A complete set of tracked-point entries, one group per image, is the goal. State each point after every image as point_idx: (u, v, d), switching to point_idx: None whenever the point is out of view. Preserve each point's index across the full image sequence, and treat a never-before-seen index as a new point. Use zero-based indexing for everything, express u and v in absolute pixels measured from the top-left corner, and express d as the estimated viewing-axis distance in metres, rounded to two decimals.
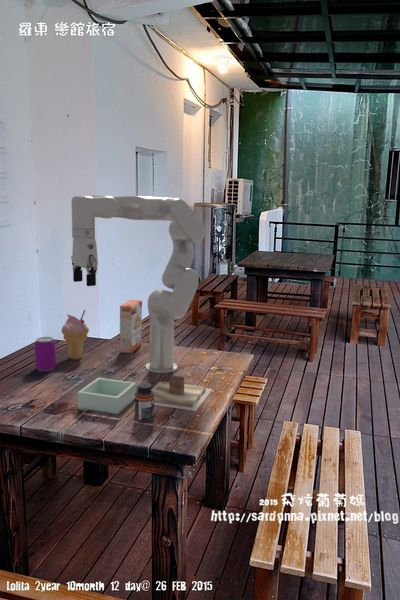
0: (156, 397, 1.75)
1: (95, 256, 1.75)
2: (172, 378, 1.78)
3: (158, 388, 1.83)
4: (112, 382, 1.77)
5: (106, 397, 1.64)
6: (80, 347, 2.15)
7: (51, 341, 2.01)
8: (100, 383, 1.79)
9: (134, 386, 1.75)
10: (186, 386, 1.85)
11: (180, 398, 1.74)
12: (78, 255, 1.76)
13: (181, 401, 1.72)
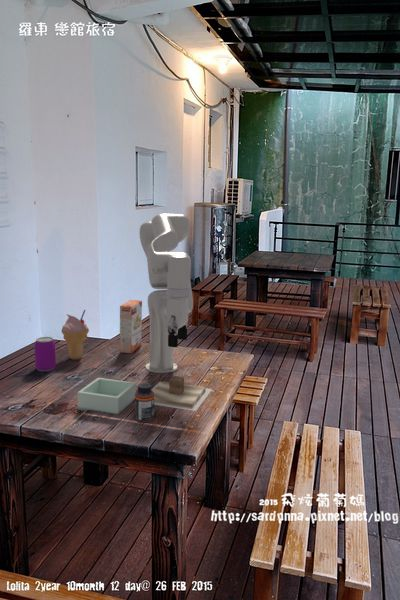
0: (156, 397, 1.75)
1: None
2: (172, 378, 1.78)
3: (158, 388, 1.83)
4: (112, 382, 1.77)
5: (106, 397, 1.64)
6: (80, 347, 2.15)
7: (51, 341, 2.01)
8: (100, 383, 1.79)
9: (134, 386, 1.75)
10: (186, 386, 1.85)
11: (180, 398, 1.74)
12: (185, 314, 1.74)
13: (181, 401, 1.72)
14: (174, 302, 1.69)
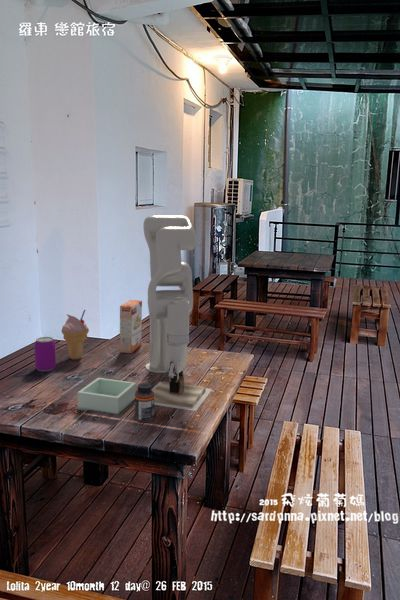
0: (156, 397, 1.75)
1: None
2: None
3: (158, 388, 1.83)
4: (112, 382, 1.77)
5: (106, 397, 1.64)
6: (80, 347, 2.15)
7: (51, 341, 2.01)
8: (100, 383, 1.79)
9: (134, 386, 1.75)
10: (186, 386, 1.85)
11: (180, 398, 1.74)
12: (184, 359, 1.77)
13: (181, 401, 1.72)
14: (173, 348, 1.72)
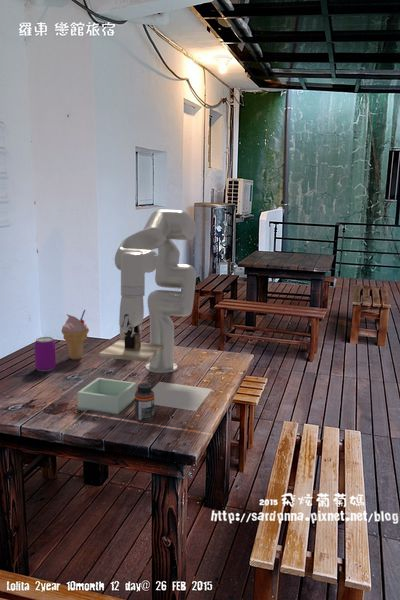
0: (110, 353, 1.65)
1: None
2: None
3: (113, 345, 1.73)
4: (112, 382, 1.77)
5: (106, 397, 1.64)
6: (80, 347, 2.15)
7: (51, 341, 2.01)
8: (100, 383, 1.79)
9: (134, 386, 1.75)
10: (143, 344, 1.76)
11: (135, 353, 1.66)
12: (140, 313, 1.69)
13: (136, 356, 1.63)
14: (127, 300, 1.63)
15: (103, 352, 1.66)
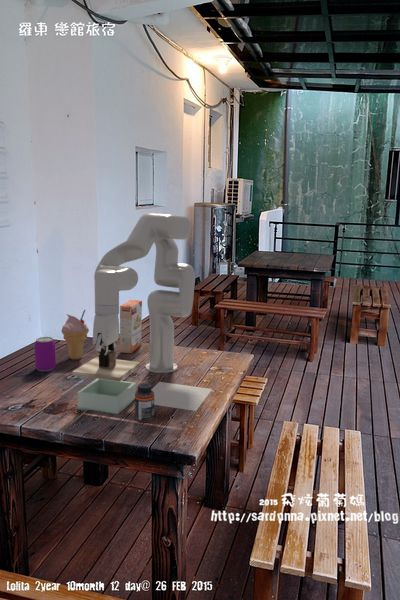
0: (83, 371, 1.64)
1: None
2: None
3: (89, 363, 1.72)
4: (112, 382, 1.77)
5: (106, 397, 1.64)
6: (80, 347, 2.15)
7: (51, 341, 2.01)
8: (100, 383, 1.79)
9: (134, 386, 1.75)
10: (119, 361, 1.75)
11: (109, 372, 1.64)
12: (115, 331, 1.67)
13: (109, 375, 1.62)
14: (100, 319, 1.62)
15: (76, 370, 1.65)
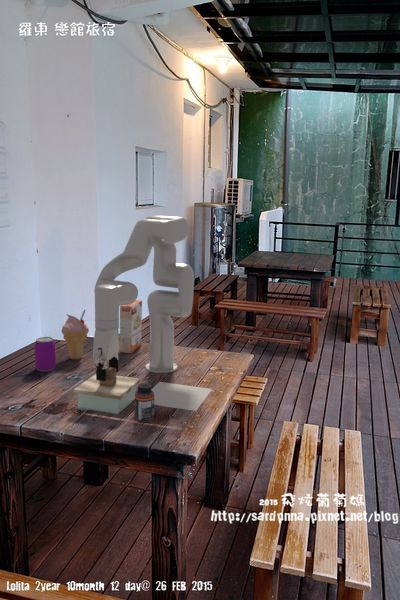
0: (84, 389, 1.66)
1: None
2: None
3: (89, 380, 1.74)
4: None
5: None
6: (80, 347, 2.15)
7: (51, 341, 2.01)
8: None
9: None
10: (120, 378, 1.76)
11: (109, 390, 1.65)
12: (115, 345, 1.68)
13: (109, 393, 1.63)
14: (101, 334, 1.63)
15: (77, 388, 1.66)
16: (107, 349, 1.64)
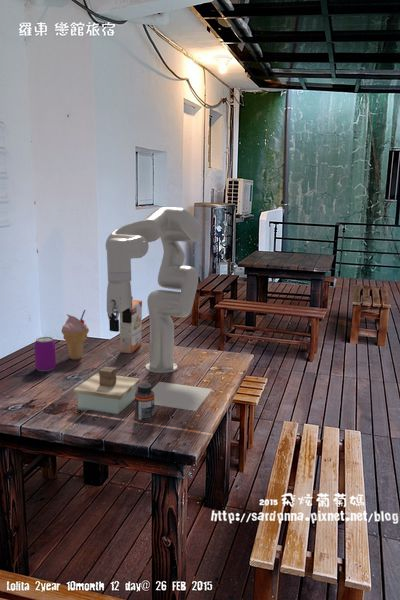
0: (84, 389, 1.66)
1: None
2: (103, 369, 1.69)
3: (89, 380, 1.74)
4: None
5: None
6: (80, 347, 2.15)
7: (51, 341, 2.01)
8: None
9: None
10: (120, 378, 1.76)
11: (109, 390, 1.65)
12: (127, 298, 1.72)
13: (109, 393, 1.63)
14: (113, 286, 1.66)
15: (77, 388, 1.66)
16: (120, 301, 1.67)
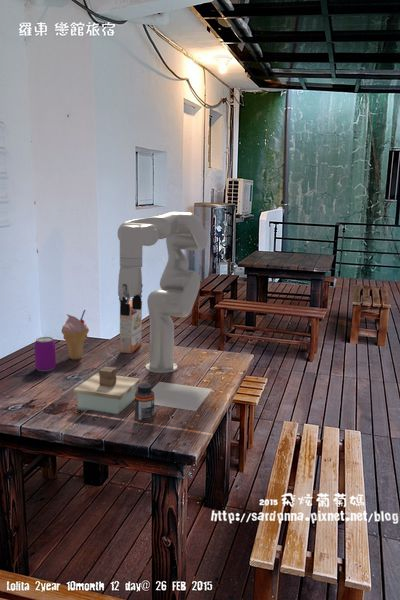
0: (84, 389, 1.66)
1: None
2: (103, 369, 1.69)
3: (89, 380, 1.74)
4: None
5: None
6: (80, 347, 2.15)
7: (51, 341, 2.01)
8: None
9: None
10: (120, 378, 1.76)
11: (109, 390, 1.65)
12: (138, 283, 1.77)
13: (109, 393, 1.63)
14: (125, 271, 1.72)
15: (77, 388, 1.66)
16: (131, 285, 1.73)
